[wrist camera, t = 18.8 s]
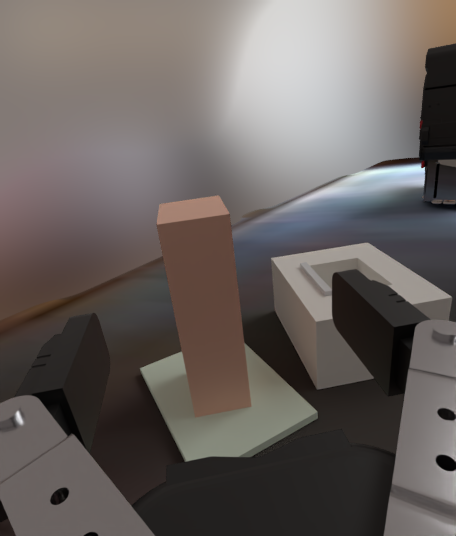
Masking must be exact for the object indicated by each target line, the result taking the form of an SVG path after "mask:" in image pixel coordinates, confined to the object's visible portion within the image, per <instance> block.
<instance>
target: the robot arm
mask: <svg viewBox="0 0 456 536" xmlns="http://www.w3.org/2000/svg"><path fill="white" fill-rule="evenodd" d="M332 318H333V322H334V325H335V327H336V329H337V331H338V332H339V333H340V334H341V336H342V337H343V338H344V340H345V341H346V342H347V344H348V345H349V346H350V347H351V349H352V350H353V351H354V353H355V354H356V355H357V357H358V358H359V359H360V361H361V362H362V363H363V364H364V366H365V367H366V368H367V370H368V371H369V372H370V374H371V375H372V376H373V377H374V379H375V380H376V381H377V383H378V384H379V385H380V387H381V388H382V389H383V390H384V392H385V393H386V394H387V396H393V395H398V394H403V393H404V394H405V397H404V404H403V411H402V418H401V424H400V431H399V438H398V445H397V452H396V454H393V453H391V452H389V451H386V450H383V449H380V448H377V447H373V446H369V445H364V444H357V443H349V441H348V439H347V437H346V436H345V434H344V432H343V430H342V429H339V430H334V431H330V432H325V433H320V434H315V435H310V436H306V437H301V438H298V439H296V440H294V441H292V442H290V443H288V444H286V445H284V446H282V447H280V448H278V449H276V450H273V451H271V452H269V453H267V454H265V455H263V456H260V457H218V456H210V457H205V458H201V459H196V460H191V461H186V462H182V463H177V464H172V465H167V469H166V482H164V483H162V484H160V485H159V486H157V487H155V488H154V489H152V490H150V491H149V492H147V493H146V494H145V495H144V496H142V497H141V498H140V499H138V500H137V501H136V502H135V503H134V504H133V505H132V506H131V505H130V504H129V503H128V501H127V500H126V499H125V498H124V496H123V495H122V494H121V493H120V491H119V490H118V489H117V488H116V486H115V485H114V484H113V483H112V481H111V480H110V479H109V478H108V476H107V475H106V474H105V473H104V471H103V470H102V469H101V468H100V466H99V465H98V464H97V463H96V461H95V460H94V459H93V458H92V456H91V455H90V451H91V447H92V442H93V438H94V434H95V430H96V426H97V422H98V418H99V414H100V409H101V405H102V401H103V397H104V393H105V389H106V385H107V380H108V376H109V372H110V357H109V352H108V349H107V345H106V342H105V339H104V336H103V332H102V329H101V326H100V323H99V320H98V317H97V315H96V314H95V313H91V314H85V315H79V316H74V317H70V318H69V320H68V322H67V324H66V326H65V328H64V330H63V332H62V334H57V335H54V336H53V337H52V338H51V339H50V340H49V341H48V342H47V343H45V344H44V345H43V347H42V348H41V350H40V352H39V354H38V356H37V359H35V361H34V363H33V364H32V368H31V369H30V370H29V372H28V373H27V375H26V377H25V379H24V381H23V382H22V384H21V386H20V388H19V390H18V391H17V393H16V395H15V397H14V398H12V399H9V400H7V401H4V402H3V403H1V404H0V522H2V521H4V520H6V519H8V518H9V520H10V523H11V525H12V527H13V529H14V532H15V534H16V536H456V323H455V322H452V321H447V320H437V319H434V320H431V319H430V318H428V317H427V316H426V315H425V314H423V313H422V312H421V311H419V310H418V309H417V308H416V307H414V306H413V305H412V304H411V303H409V302H408V301H406V299H404V298H403V297H402V296H400V295H398V293H397V292H395V291H394V290H393V289H392V288H390V287H389V286H388V285H385V284H383V283H380V282H378V281H375V280H369V279H368V278H367V277H366V276H365V275H363V274H362V273H361V272H360V271H359V270H357V269H352V270H347V271H341V272H335V273H334V274H333V276H332Z"/></svg>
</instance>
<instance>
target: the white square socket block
mask: <svg viewBox="0 0 456 536" xmlns="http://www.w3.org/2000/svg"><path fill="white" fill-rule="evenodd" d="M271 262H272V276H273V291H274V305H275V312H276V314H277V316H278V317H279V319H280V321H281V323H282V325H283V327H284V329H285V331H286V332H287V334H288V336H289V338H290V340H291V342H292V344H293V346H294V347H295V349H296V351H297V353H298V355H299V357H300V359H301V361H302V362H303V364H304V366H305V368H306V370H307V372H308V374H309V376H310V377H311V379H312V381H313V383H314V385H315V387H316V389H317V390H319V389H324V388H329V387H334V386H339V385H344V384H349V383H354V382H359V381H364V380H369V379H374V377H373V376H372V375H371V374H370V372H369V371H368V370H367V368H366V367H365V366H364V364H363V363H362V362H361V361H360V359H359V358H358V357H357V355H356V354H355V353H354V351H353V350H352V349H351V347H350V346H349V345H348V344H347V342H346V341H345V340H344V338H343V337H342V336H341V334H340V333H339V332H338V331H337V329H336V327H335V325H334V322H333V318H332V276H333V274H334V273H335V272H341V271H347V270H352V269H357V270H359V271H360V272H361V273H362V274H363V275H365V276H366V277H367V278H368V279H369V280H375V281H378V282H380V283H383V284H385V285H388V286H389V287H390V288H392V289H393V290H394V291H395V292H397V293H398V295H400V296H402V297H403V298H404V299H406V301H408V302H409V303H411V304H412V305H413V306H414V307H416V308H417V309H418V310H419V311H421V312H422V313H423V314H425V315H426V316H427V317H428V318H430V319H431V320H434V319H437V320H447V321H449V315H450V309H451V302H452V297H451V296H450V295H448V294H447V293H445V292H443V291H442V290H440V289H439V288H437V287H436V286H434V285H433V284H431V283H430V282H428V281H426V280H425V279H423V278H422V277H420V276H419V275H417V274H416V273H414V272H412V271H411V270H409V269H408V268H406V267H405V266H403V265H402V264H400V263H398V262H397V261H395V260H394V259H392V258H391V257H389V256H388V255H386V254H384V253H383V252H381V251H380V250H378V249H377V248H375V247H374V246H372V245H370V244H369V243H362V244H356V245H350V246H344V247H338V248H331V249H325V250H319V251H313V252H307V253H301V254H294V255H288V256H282V257H276V258H271Z"/></svg>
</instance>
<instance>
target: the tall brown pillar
mask: <svg viewBox="0 0 456 536" xmlns="http://www.w3.org/2000/svg"><path fill="white" fill-rule="evenodd" d="M157 229H158V234H159V239H160V244H161V249H162V254H163V259H164V264H165V269H166V274H167V279H168V284H169V289H170V294H171V299H172V304H173V309H174V314H175V319H176V324H177V329H178V334H179V339H180V344H181V349H182V354H183V359H184V364H185V369H186V374H187V379H188V384H189V389H190V394H191V399H192V404H193V409H194V414H195V417H200V416H206V415H211V414H216V413H221V412H226V411H231V410H236V409H241V408H247V407H252V406H251V397H250V389H249V380H248V371H247V362H246V353H245V345H244V336H243V327H242V318H241V310H240V301H239V292H238V283H237V274H236V266H235V257H234V248H233V239H232V230H231V222H230V214H229V212H228V210H227V209H226V207H225V205H224V203H223V202H222V200H221V198H220V196H212V197H205V198H199V199H191V200H184V201H177V202H171V203H164V204H160V205H159V212H158V219H157Z"/></svg>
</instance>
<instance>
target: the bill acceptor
mask: <svg viewBox="0 0 456 536" xmlns="http://www.w3.org/2000/svg"><path fill="white" fill-rule="evenodd" d="M425 68H426V72H427V74H426V77H425V83H424V88H423V100H422V112H421V117H420V118H421V121H420V136H419V139H420V150H419V161H422V160H423V161H422V164H421V168H424V167H425V184H424V195H423V196H422V198H424V199H423V202H426V201H432V204H441V203H442V202H443V204H456V44H451V45H446V46H441V47H436V48H430V49H428V52H427V55H426V64H425Z"/></svg>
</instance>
